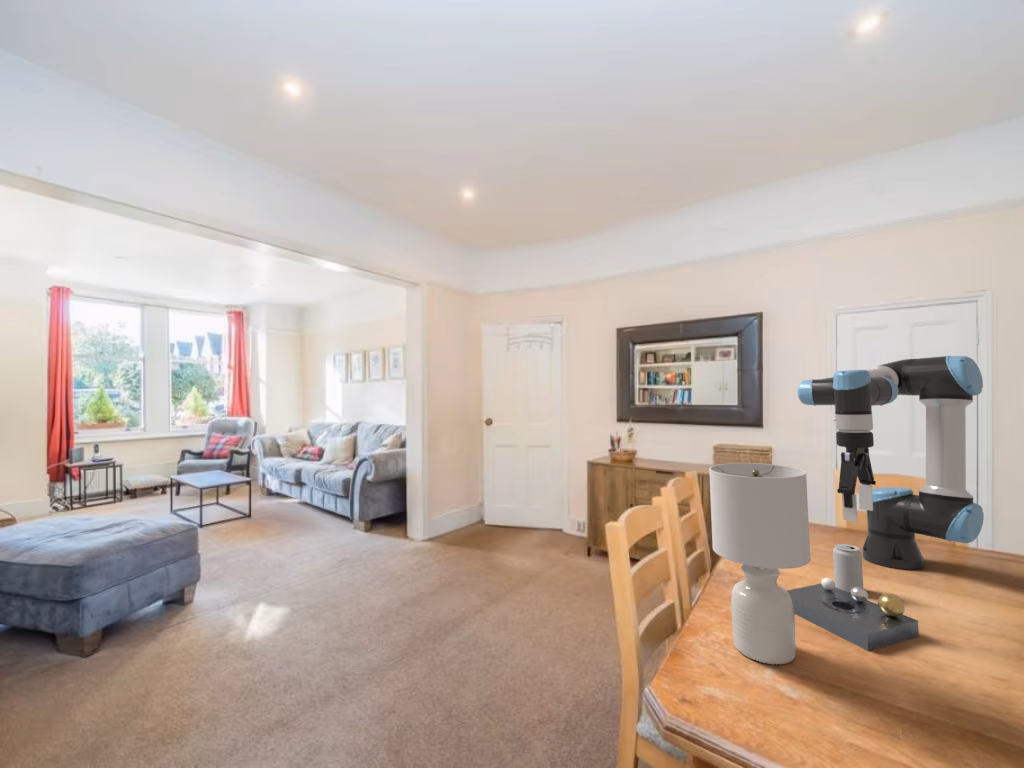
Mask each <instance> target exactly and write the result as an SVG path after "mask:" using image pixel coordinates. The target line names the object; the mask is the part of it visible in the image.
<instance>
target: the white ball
mask: <svg viewBox="0 0 1024 768" xmlns="http://www.w3.org/2000/svg"><path fill="white" fill-rule="evenodd" d="M820 584H822V586H823V587H824V588H825V589H827V590H833V589H834V588H835V587H836V586H835V580H833V579H832V578H830V577H824V578H822V580H821V582H820Z"/></svg>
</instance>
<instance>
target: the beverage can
mask: <svg viewBox="0 0 1024 768" xmlns="http://www.w3.org/2000/svg"><path fill="white" fill-rule="evenodd" d="M833 547H834V548H833V549H832V556H833V576H834V582H835V587H836V588H839V589H841V590H844V591H846V592H849V593H850V591H851V589H852V588H853V587H861V588H863V589H864V576H863V574H864V573H863V558H862V557H863V555H862V551H860V548H859V547H858V546H856V545H853V544H852V545H851V544H848V543H847V544H846V543H836V544H834V546H833Z"/></svg>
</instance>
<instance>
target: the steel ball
mask: <svg viewBox="0 0 1024 768" xmlns="http://www.w3.org/2000/svg"><path fill="white" fill-rule="evenodd" d="M850 594H851V596H852V598H853V599H854V600H856V601H857V602H865V601H867V600H868V599H869V594H868V592H867V590H866V589H864V587H863V588H861V587H853V588H852V589H851V591H850Z"/></svg>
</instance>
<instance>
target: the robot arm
mask: <svg viewBox="0 0 1024 768" xmlns="http://www.w3.org/2000/svg"><path fill="white" fill-rule="evenodd" d="M983 382H984V381H983V376H982V372H981V369H980V368H979V366H978V364H977V362H976V361H975V360H974V359H973V358H971V357H969V356H966V355H946V356H934V357H921V358H906V359H905V358H904V359H901V360H895V361H892V362H888V363H883V364H879V365H875V366H871V367H870V368H868V369H850V370H849V369H848V370H837V371H835V372H834V374H833V376H832V377H825V378H820V379H819V378H818V379H814V378H813V379H812V378H811V379H806V380H802V381H801V382H800V383H799V384H798V387H797V398H798V400H799V401H800V402H801V404H802V405H803V404H804V405H807V406H814V407H815V406H834V410H835V411H834V413H835V414H834V417H833V418H832V421H833V422H835V429H836V430H837V431H836V433H835V440H836V445H837V446H838V447H840V448H841V447H843V448H845V451H844V452H841V453H840V458H841V459H840V460H841V461H840V462H841V464H840V470H839V481H838V489H837V494H841V500H842V501H841V502H842V520H843V521H847V522H849V521H850V522H854V523H856V522H857V523H858V521H859V520H858V519H859V517H858V503H859V510H863V511H866V520H867V521H866V522H867V535H866V538H865V541H864V544H863V547H862V548H861V555H862V557H863V558H862V559H864V560H866V561H868V562H870V563H872V564H876V565H879V566H884V567H886V568H893V569H899V570H919V569H923V568H924V567H925V559H924V556H923V554H922V552H921V550H920V547H919V545H918V543H917V540H916V534H917V535H920V536H925V537H931V538H936V539H939V540H940V539H941V540H945V541H947V542H955V543H961V544H969V543H972V542H975V540H976V539H977V538H978V536H979V535H980V533H981V530H982V528H983V524H984V520H985V519H984V518H985V516H984V509H983V507H982V505H980V504H978V503H976V502H974V496H973V495H972V494H971V493H970V492H969V491H968V490H967V478H966V477H967V475H966V471H967V470H966V467H967V463H966V462H967V461H966V460H967V459H966V457H967V455H966V453H967V452H966V451H967V450H966V447H967V445H966V440H967V438H966V435H967V433H966V431H967V429H966V428H967V427H966V422H967V421H966V408H967V407H968V406H969V405H971V404H972V403H973V402H974V396H977V395H980V394H981V393H982V391H983V386H984V383H983ZM898 396H914V397H915V396H918V397H919V398H918V401H919V402H920V403H921V404H922V405H924V407H925V485H924V486H923V487H921V488H919V489H918V494H914V491H913V490H912V488H907V487H897V486H895V487H894V486H892V487H890V486H889V487H875V488H873V486H875V485H877V484H876V483H877V482H876V480H875V478H874V477H875V476H874V472H873V469H872V464H871V463H872V462H871V458H870V457H871V456H870V449H869V448H872V447H874V444H875V443H874V441H875V440H874V433H873V432H872V430H873V429H874V424H873V421H874V419H873V411H872V408H873V406H880V407H881V406H884V405H888V404H891V403H892V402H894V401H895V400H896V399H897V398H898ZM857 481H859V483H858V501H859V502H857V494H856V488H857V487H856V485H857Z"/></svg>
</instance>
